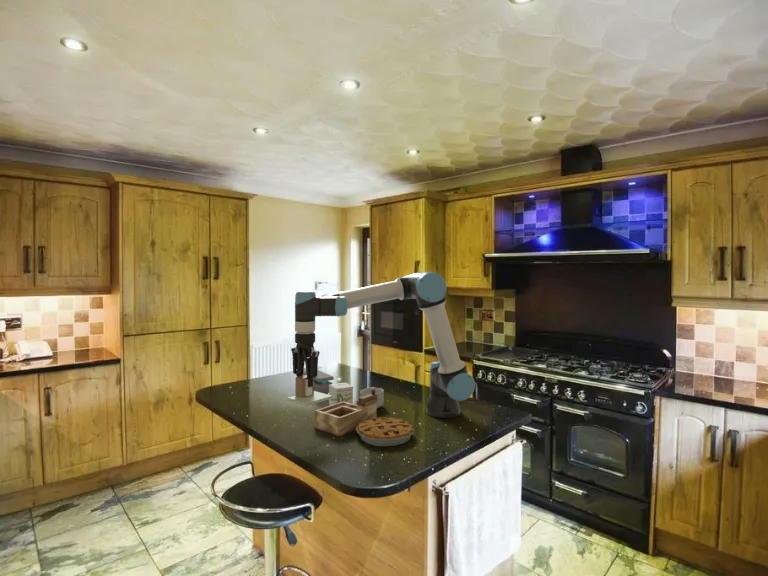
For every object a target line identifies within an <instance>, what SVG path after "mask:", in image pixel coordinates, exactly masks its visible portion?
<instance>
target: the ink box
mask: <svg viewBox="0 0 768 576" xmlns="http://www.w3.org/2000/svg"><path fill="white" fill-rule="evenodd" d="M328 395H332V399H328V406H330V405H333V404H336V403H339V402H342V401H344V402H347V403H351V404H354V401H353V400H354V386H353V385H351V384H350V383H348V382H339V383H332V384H329V393H328Z"/></svg>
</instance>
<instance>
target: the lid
mask: <svg viewBox="0 0 768 576" xmlns="http://www.w3.org/2000/svg"><path fill="white" fill-rule="evenodd" d="M306 377H307V375H304V376H299V377H297V376H296V377H295V383H294V384H295V385H294V386H295V391H294V392H295V393H294V394H295V395H292V396H288V397H287V398H286V399H287V401H288V402H291V403H295V404H299V405H301V406H303V407H304V406H305V407H308V406H312V405H315V404H318V403H321V402H325V401H329V399H332V395H329V393H328V394H324V393H320V392H316V391H314V378H313V387H312V395H310V396H305V379H306Z"/></svg>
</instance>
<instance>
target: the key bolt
mask: <svg viewBox="0 0 768 576" xmlns="http://www.w3.org/2000/svg"><path fill="white" fill-rule="evenodd" d="M373 399H377V394H375V389H371V394H368V395H365V396H362V397H361V396H360V397H358V400H359V405H361V406H364V403H365V402H368V401H370V400H373Z"/></svg>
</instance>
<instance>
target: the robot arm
mask: <svg viewBox="0 0 768 576" xmlns="http://www.w3.org/2000/svg"><path fill="white" fill-rule="evenodd" d="M447 290H448V287H447V283H446V279H444V278H443V276H442V275H440V274H439V273H438V272H437V273H436V272H434V271H417V272H414V273H411V274H409V275H404V276H400V277H397V278H396V279H395V280H393V281H388V282H382V283H378V284H374V285H373V284H372V285H369V286H364V287H359V288H354V289H348V290H345V291H339V292H335V293H333V292H332V293H330V294H328V293H326V294H325V293H324V294H323V295H321V296H318V295H317V294H316V292H315V291H312V290H311V291H309V290H307V291H306V290H304V291H303V290H301V291H297V292H296V293H295V296H294V332H295V333H294V343H296V344H295V345H296V346H295V347H292V348H291V349H290V351H291V355H292V373H293V374H294V375H296V377H299V376H302V375H304V373H303V371H304V368H306V374H307V377H306V379H305V396H310V395H312V387H313V378H314V377H317V371H318V370H319V369H318V367H319V356H320V352H321V351H319V350H316V349H315V346H314V344H315V343H316V333H315V332H316V317H344V316H347V314H348V309H354V308H358V307H364V306H368V305H373V304H377V303H378V304H379V303H381V302H382V303H383V302H388V301H391V300H398V299H399V300H400V301H404V300H411V299H413V300H416V303H417V306H418V309H419V310H421V311H422V312H424V316H425V320H426V323H427V326H428V329H429V333H430V336H431V339H432V340H431V341H432V344H433V346H434V350H435V353H436V356H437V360H435V361H432V362H431V363H430V366H429V396H428V400H427V402H426V405H425V413H426V415H428V416H431V417H434V418H439V419H450V418H456V417H458V416H460V415H461V408H460V403H459V402H463V401H466V400H467V399H469V398H470V397H472V395H473V393H474V391H475V388H476V382H475V379H474V377H472V375H471V374H469V373H468V368H467V366H466V365H467V364H466V363H465V362H464V361H463V360H461V358H460V354H459V350H458V348H457V345H456V341H455V338H454V334H453V331H452V328H451V324H450V320H449V317H448V315H447V310H446V308H445V307H446V306H445V305H446V303H447V301H448V300H447V297H446V293H447Z"/></svg>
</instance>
